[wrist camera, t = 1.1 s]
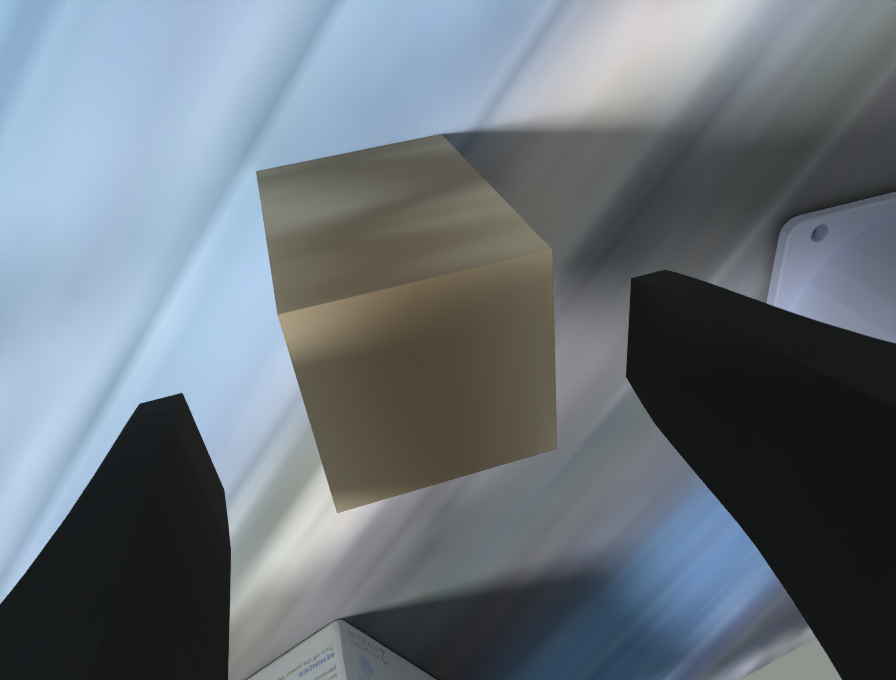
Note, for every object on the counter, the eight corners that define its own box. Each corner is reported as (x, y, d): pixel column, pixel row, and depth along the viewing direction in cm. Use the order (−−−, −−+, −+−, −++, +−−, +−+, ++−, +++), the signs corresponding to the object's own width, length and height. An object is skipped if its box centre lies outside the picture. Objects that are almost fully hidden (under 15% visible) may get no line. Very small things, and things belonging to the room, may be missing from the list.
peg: (441, 133, 15) (552, 249, 10) (459, 291, 17) (557, 449, 12) (256, 171, 14) (277, 314, 9) (300, 330, 16) (337, 513, 11)
